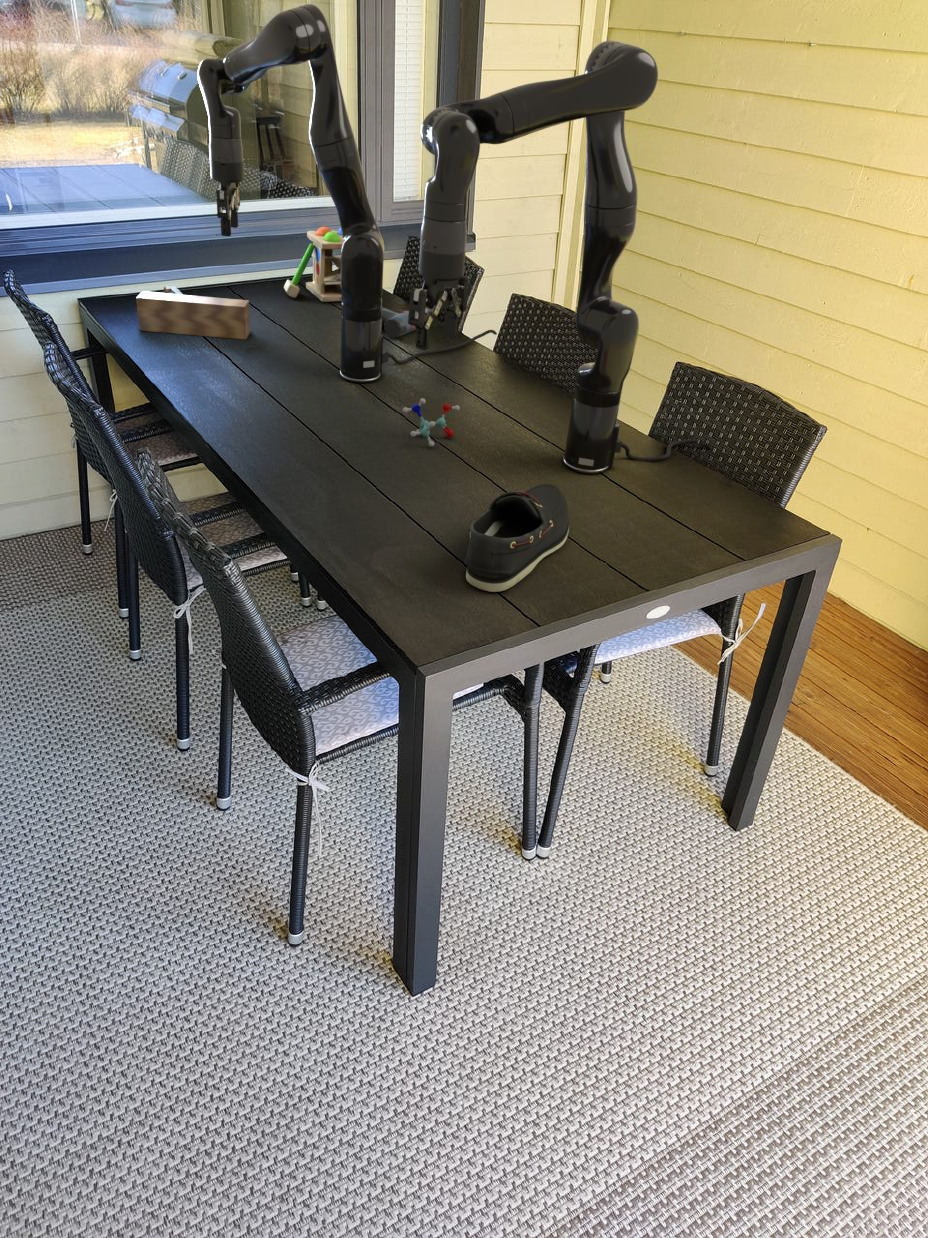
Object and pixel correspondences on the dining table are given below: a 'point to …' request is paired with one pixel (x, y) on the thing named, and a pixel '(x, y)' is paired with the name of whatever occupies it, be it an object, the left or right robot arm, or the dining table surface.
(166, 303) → the bar
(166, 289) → the clamp
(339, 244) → the pounding bench toy
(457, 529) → the dining table surface
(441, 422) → the molecular model
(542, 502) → the boat shoe
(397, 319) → the power drill
